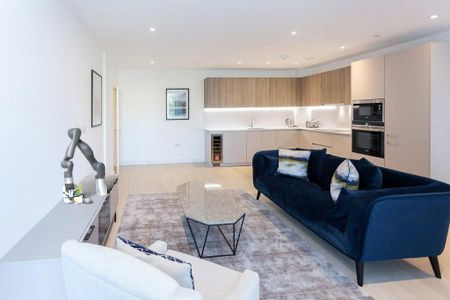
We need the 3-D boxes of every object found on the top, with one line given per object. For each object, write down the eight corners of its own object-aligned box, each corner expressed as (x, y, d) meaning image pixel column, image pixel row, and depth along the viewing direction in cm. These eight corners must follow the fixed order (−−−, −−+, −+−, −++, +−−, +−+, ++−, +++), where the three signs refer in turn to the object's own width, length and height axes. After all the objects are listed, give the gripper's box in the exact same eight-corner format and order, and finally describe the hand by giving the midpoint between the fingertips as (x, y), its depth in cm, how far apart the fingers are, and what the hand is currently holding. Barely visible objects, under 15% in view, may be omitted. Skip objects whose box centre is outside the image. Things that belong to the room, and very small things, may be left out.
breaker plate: (86, 200, 342) (86, 197, 342) (92, 201, 334) (91, 199, 334) (72, 203, 332) (72, 201, 332) (77, 205, 324) (77, 202, 324)
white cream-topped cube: (80, 201, 330) (80, 198, 329) (82, 201, 328) (81, 198, 328) (77, 201, 328) (77, 198, 327) (78, 202, 326) (78, 199, 325)
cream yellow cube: (77, 200, 335) (77, 196, 334) (78, 200, 333) (78, 197, 332) (74, 200, 333) (74, 197, 332) (75, 201, 331) (75, 198, 330)
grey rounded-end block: (89, 202, 332) (89, 197, 331) (92, 203, 328) (91, 198, 328) (84, 203, 328) (84, 198, 328) (86, 204, 325) (86, 199, 324)
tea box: (73, 202, 335) (72, 187, 333) (64, 202, 337) (62, 187, 336) (83, 198, 350) (81, 183, 348) (74, 198, 352) (72, 183, 350)
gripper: (74, 180, 334) (76, 198, 336) (60, 183, 325) (62, 201, 327) (78, 181, 329) (79, 199, 331) (63, 184, 320) (65, 203, 322)
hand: (70, 200), depth 329 cm, fingers closed
